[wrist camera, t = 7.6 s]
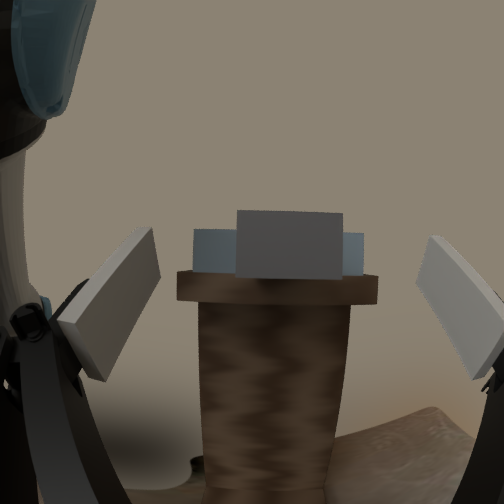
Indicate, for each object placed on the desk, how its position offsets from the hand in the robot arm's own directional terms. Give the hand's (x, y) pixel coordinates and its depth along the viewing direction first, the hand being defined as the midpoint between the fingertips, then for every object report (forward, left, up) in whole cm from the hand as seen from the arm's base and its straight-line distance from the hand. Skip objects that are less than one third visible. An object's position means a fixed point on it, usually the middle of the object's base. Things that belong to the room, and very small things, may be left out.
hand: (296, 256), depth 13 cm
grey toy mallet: (0, +6, -1) cm, 6 cm away
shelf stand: (0, +11, -29) cm, 31 cm away
